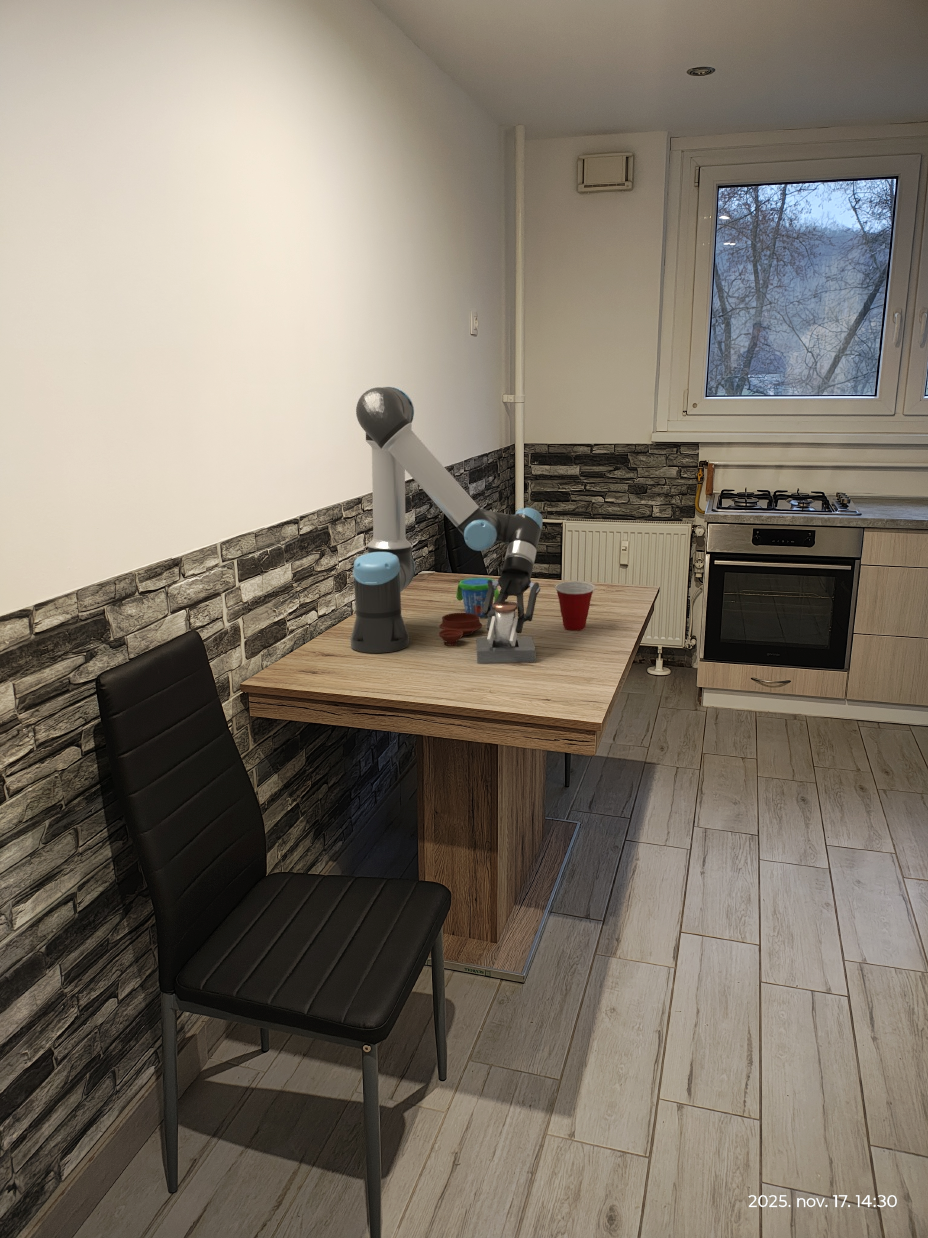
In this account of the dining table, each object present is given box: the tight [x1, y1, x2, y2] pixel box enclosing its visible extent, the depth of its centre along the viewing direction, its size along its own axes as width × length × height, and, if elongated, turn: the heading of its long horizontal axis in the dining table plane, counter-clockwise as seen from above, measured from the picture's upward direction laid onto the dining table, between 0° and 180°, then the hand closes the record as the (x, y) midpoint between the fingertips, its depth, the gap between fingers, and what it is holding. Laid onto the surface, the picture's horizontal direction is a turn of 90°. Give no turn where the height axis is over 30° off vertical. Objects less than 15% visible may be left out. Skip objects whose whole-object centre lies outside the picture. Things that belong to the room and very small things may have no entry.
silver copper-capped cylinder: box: [493, 600, 518, 648], centre depth 219 cm, size 6×6×13 cm
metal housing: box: [475, 636, 536, 664], centre depth 220 cm, size 14×12×3 cm
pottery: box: [438, 612, 483, 646], centre depth 237 cm, size 12×20×4 cm, turn 167°
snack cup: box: [456, 577, 500, 618], centre depth 258 cm, size 16×10×10 cm
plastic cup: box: [554, 580, 596, 631], centre depth 242 cm, size 11×11×12 cm
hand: (500, 642), depth 216 cm, fingers closed on silver copper-capped cylinder, 5 cm apart
